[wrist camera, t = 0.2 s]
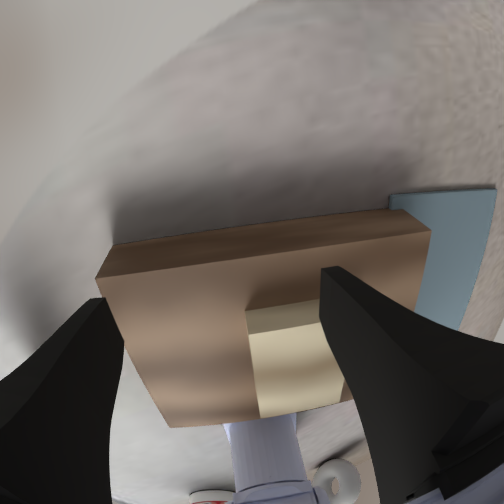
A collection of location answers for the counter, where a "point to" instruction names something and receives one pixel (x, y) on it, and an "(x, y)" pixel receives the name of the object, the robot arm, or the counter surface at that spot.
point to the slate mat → (450, 247)
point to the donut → (346, 477)
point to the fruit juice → (211, 497)
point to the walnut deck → (242, 298)
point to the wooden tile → (292, 359)
